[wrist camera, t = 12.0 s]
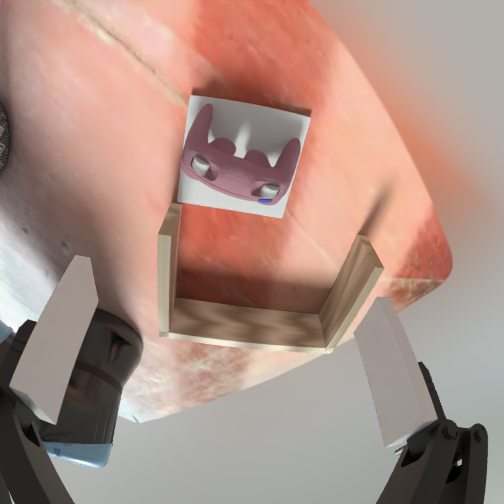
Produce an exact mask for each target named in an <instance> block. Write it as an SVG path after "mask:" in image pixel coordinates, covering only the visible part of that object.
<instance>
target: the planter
mask: <svg viewBox="0 0 504 504" xmlns="http://www.w3.org/2000/svg"><path fill="white" fill-rule="evenodd" d="M9 143H10V138H9V127H8V122H7V118H6V115H5V112H4V109H3V107H2V105H1V103H0V174H1V173H2V171H3V169H4V167H5V165H6V162H7V158H8V153H9Z"/></svg>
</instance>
